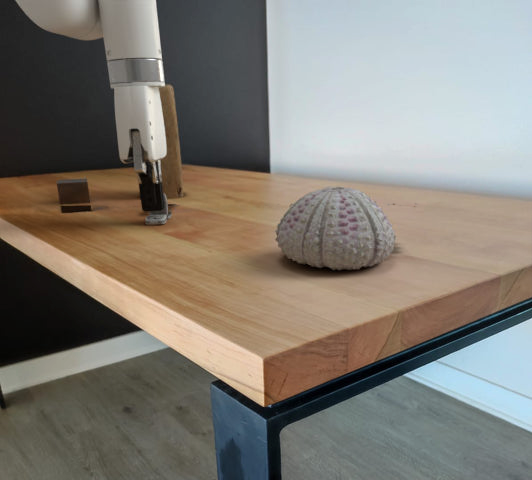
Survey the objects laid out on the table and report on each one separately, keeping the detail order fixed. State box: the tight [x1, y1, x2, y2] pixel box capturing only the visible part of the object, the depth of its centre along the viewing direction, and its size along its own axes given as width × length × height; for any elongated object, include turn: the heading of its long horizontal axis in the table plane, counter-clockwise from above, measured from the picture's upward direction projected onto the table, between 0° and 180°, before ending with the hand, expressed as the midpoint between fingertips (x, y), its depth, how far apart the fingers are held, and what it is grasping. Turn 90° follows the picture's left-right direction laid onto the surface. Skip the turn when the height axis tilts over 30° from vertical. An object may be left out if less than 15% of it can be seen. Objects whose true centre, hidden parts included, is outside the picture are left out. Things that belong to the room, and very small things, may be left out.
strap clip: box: [144, 193, 173, 225], centre depth 85 cm, size 8×3×4 cm, turn 0°
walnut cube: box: [56, 178, 93, 214], centre depth 95 cm, size 5×5×5 cm
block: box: [145, 83, 184, 206], centre depth 98 cm, size 11×8×20 cm
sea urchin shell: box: [274, 186, 397, 271], centre depth 60 cm, size 13×14×8 cm
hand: (153, 210), depth 83 cm, fingers closed
